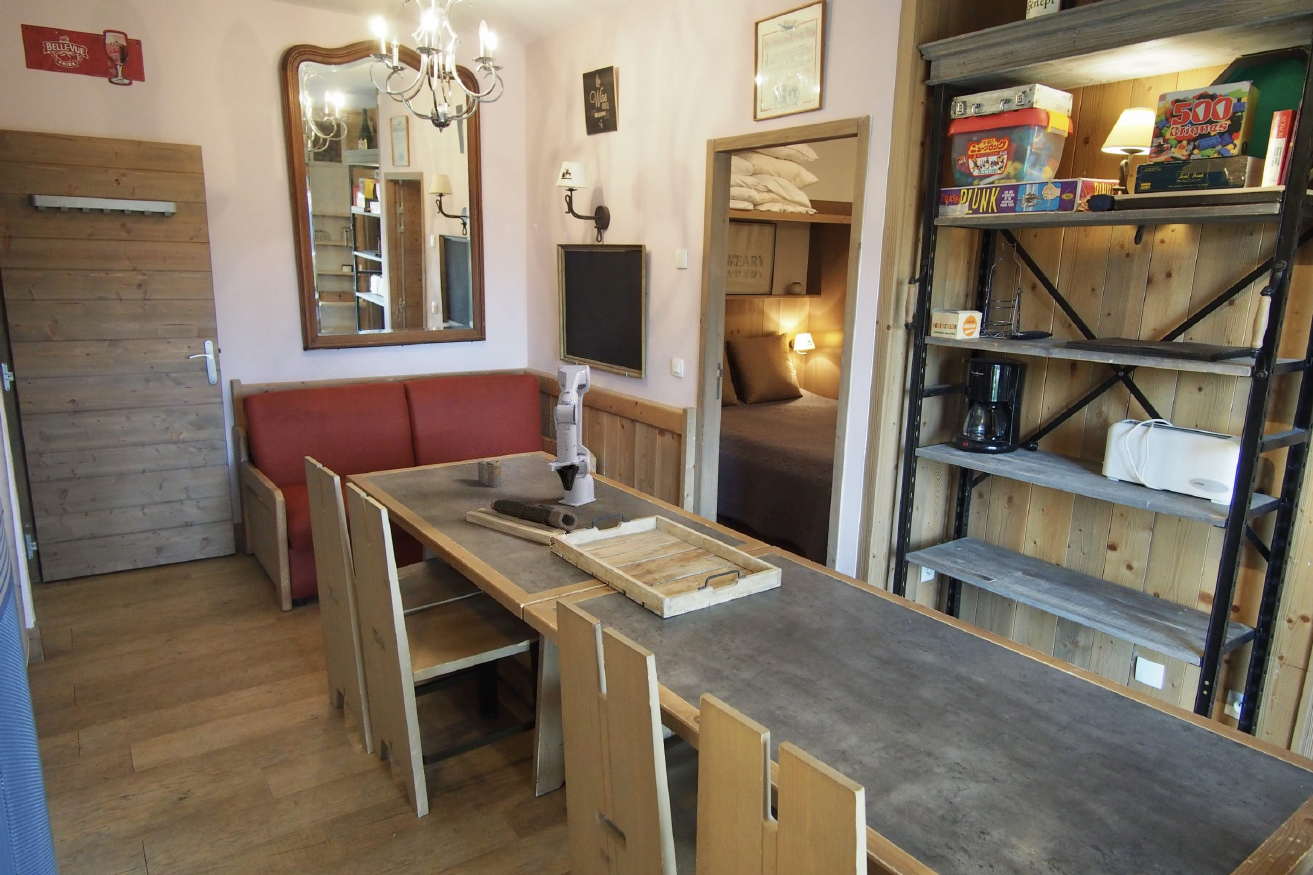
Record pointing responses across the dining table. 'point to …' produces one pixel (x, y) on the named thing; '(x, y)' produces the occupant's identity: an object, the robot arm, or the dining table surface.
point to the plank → (513, 525)
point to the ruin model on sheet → (489, 473)
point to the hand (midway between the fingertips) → (568, 490)
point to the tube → (537, 513)
